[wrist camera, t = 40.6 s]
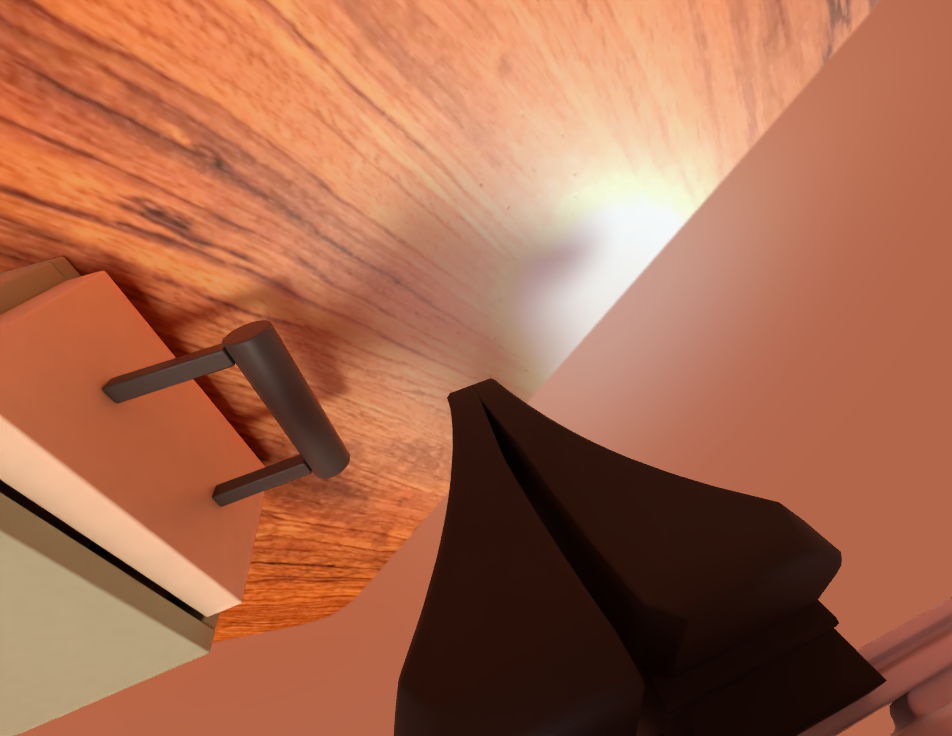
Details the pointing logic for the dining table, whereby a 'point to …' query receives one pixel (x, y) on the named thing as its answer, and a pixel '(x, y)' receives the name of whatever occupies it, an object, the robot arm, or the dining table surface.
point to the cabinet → (75, 599)
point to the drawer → (148, 437)
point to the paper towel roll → (43, 514)
